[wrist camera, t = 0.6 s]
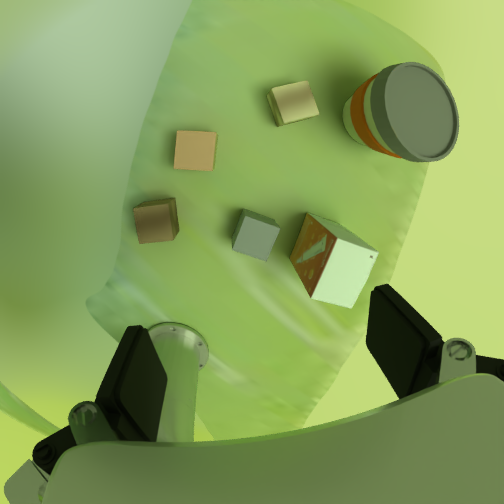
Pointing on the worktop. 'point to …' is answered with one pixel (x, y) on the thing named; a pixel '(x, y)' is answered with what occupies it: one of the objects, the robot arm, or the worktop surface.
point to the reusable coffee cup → (404, 113)
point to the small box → (331, 261)
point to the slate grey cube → (255, 235)
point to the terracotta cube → (195, 150)
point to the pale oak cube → (292, 103)
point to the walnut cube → (156, 221)
